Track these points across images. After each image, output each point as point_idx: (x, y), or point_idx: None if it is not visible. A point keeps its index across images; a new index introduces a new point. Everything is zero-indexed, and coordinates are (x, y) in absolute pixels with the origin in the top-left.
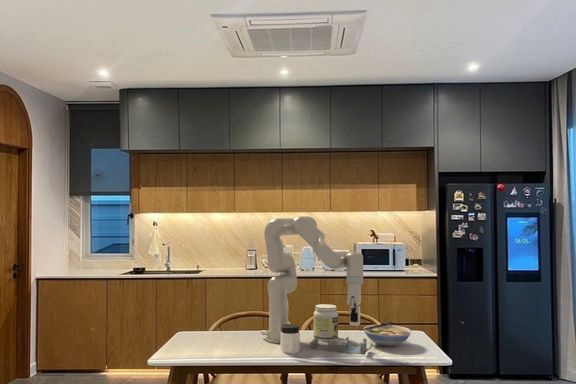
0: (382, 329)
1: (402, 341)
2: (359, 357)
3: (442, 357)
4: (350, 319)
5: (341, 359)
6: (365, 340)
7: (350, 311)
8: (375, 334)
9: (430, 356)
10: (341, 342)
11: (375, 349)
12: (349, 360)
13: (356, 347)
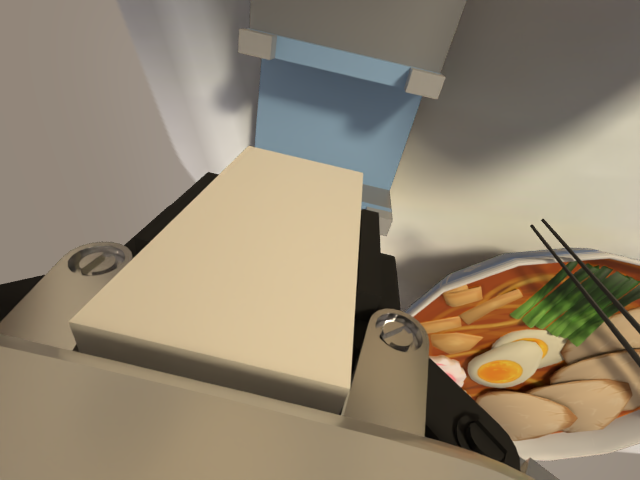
0: (615, 362)
1: None
2: (230, 145)
3: None
4: (198, 182)
5: (147, 20)
6: None
7: (151, 254)
8: (420, 305)
9: None
10: (346, 17)
11: (413, 246)
12: (148, 79)
13: (393, 143)
